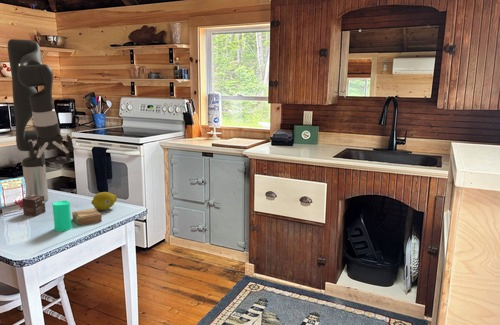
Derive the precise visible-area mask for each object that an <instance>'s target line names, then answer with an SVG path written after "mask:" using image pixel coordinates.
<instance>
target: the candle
mask: <svg viewBox="0 0 500 325" xmlns="http://www.w3.org/2000/svg"><path fill="white" fill-rule="evenodd" d="M52 213H53V214H52V215H53V224H54V225H53V226H54V231H56V232H67V231H69V230H71V229H72V228H73V226H72V217H71V216H72V215H71V214H72V212H71V203H70V201H68V200H58V201H56V202H53V203H52Z"/></svg>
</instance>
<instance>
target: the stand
mask: <svg viewBox="0 0 500 325" xmlns="http://www.w3.org/2000/svg"><path fill="white" fill-rule="evenodd" d="M71 214H72V215H71V216H72V220H73V221H74V222H75V224H76V225H77V226H78V227H80V226H83V225H90V224H95V223H98V222H102V213H100V212H99V210H97V209H96V208H95V207H93V208H89V209H82V210H77V211H72V212H71Z"/></svg>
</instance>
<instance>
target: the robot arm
mask: <svg viewBox="0 0 500 325" xmlns="http://www.w3.org/2000/svg"><path fill="white" fill-rule="evenodd" d="M7 54H8V55H7V56H8V60H9V61H8V62H9V67H10V74H11V84H12V101H13V110H14V117H15V118H14V119H15V143H16V147H17V149H18V151H21V152H29V155H30V156H27V157H26V158H23V159H22V160H21V163H22V164H21V165H22V173H23V180H24V179H25V183H26V195H25V198H26V197H28V196H31V195H38V196H44V201H45V202H47V201H48V200H49V190H48V180H47V179H48V178H47V168H46V167H47V166H46V160H45V159H46V157H45V156H46V155H45V150H46V151H50V150H57V149H59V150H61V151H62V152H64V155H65V159H66V163H67V164H68V163H70V161H71V156H70V153H71V152H73V151H74V150H75V148H74V146H73V145H74V144H73V141H72V137H71V134H70V133H66V134H65V135H62V134H61V130H60V124H59V121H58V115H57V113H56V110H55V106H54V100H53V85H54V84H53V83H54V82H53V81H54V72H53V69H52V68H51V66H49V65H48V64H45V63H42V61H43V59H42V52H41V46H40V45H39V43H38V42H37V41H35V40H31V39H17V38H15V39H14V38H12V39H11V38H10V39H9V40H8V41H7ZM42 86H43V88H42V89H41V90H40V91H39V90H38V91H37V89H36V88H35V87H42ZM31 119H32V121H33V124H34V130H25V129H26V127H27V125H28V123H29V122H30V121H31ZM63 140H64V141H65V142H67V143H68V146H69V147H66V146H65V145H64V144H63V143H62V142H63ZM35 151H36V152H35Z"/></svg>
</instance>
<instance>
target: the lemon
mask: <svg viewBox="0 0 500 325" xmlns="http://www.w3.org/2000/svg"><path fill="white" fill-rule="evenodd" d="M117 199H118V197H117V195H116V194H113V193H111V192H108V191H102V192H98V193H96V194H95V195H94V196H93V198H92V200H91V204H92V205H93V208H95V209H96V210H97V211H106V210H108V209H110V208H112V207H113V206H114V205H115V203H116V202H117Z"/></svg>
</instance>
